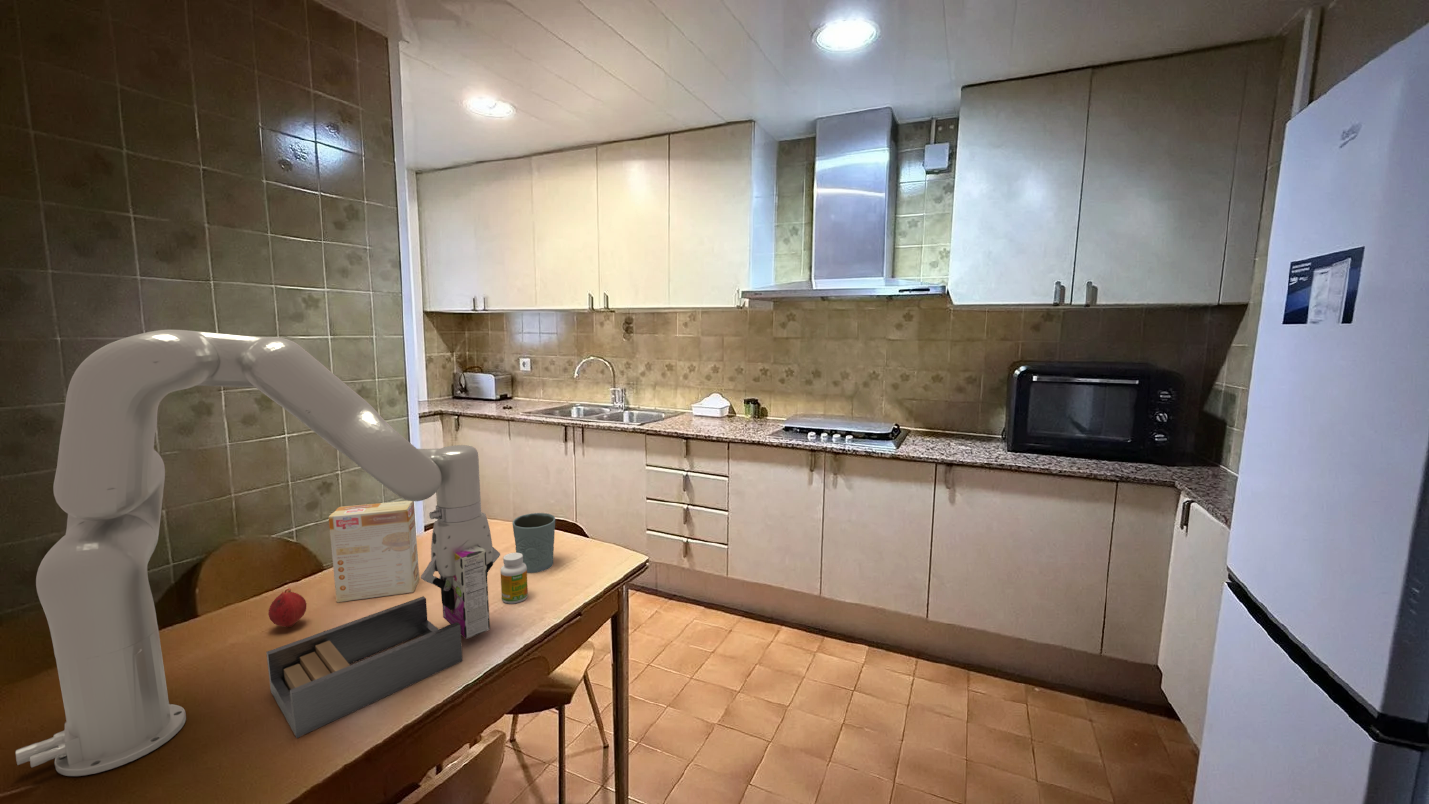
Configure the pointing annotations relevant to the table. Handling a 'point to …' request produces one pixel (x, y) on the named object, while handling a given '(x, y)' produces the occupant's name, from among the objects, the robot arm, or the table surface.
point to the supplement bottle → (514, 579)
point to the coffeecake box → (374, 550)
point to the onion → (287, 608)
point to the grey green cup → (535, 540)
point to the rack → (358, 664)
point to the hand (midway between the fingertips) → (464, 600)
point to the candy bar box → (470, 593)
